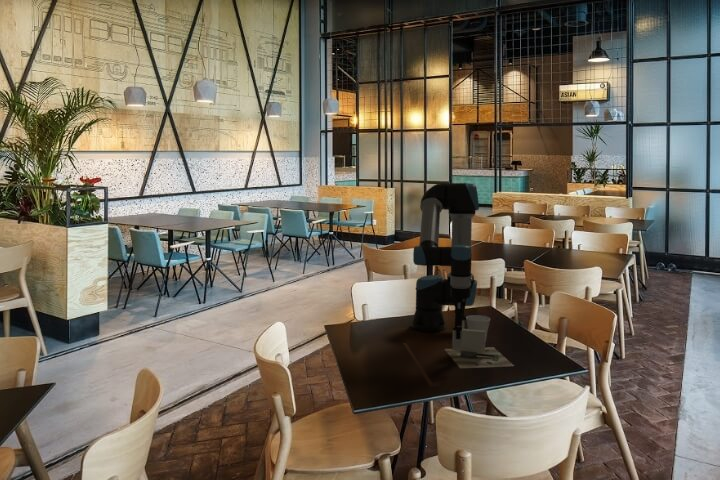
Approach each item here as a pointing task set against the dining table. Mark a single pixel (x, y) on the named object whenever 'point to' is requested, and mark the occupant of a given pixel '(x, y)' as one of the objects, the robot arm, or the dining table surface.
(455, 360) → the board
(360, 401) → the dining table surface
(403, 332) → the dining table surface
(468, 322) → the cup
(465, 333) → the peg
